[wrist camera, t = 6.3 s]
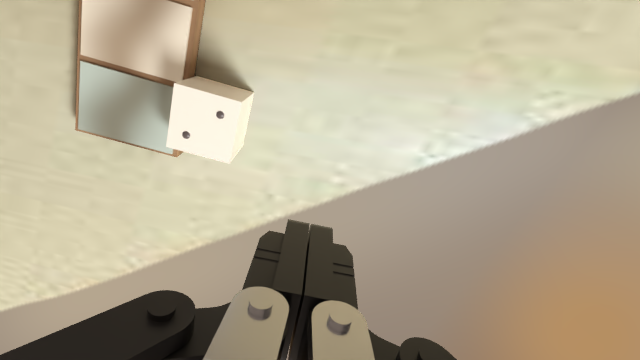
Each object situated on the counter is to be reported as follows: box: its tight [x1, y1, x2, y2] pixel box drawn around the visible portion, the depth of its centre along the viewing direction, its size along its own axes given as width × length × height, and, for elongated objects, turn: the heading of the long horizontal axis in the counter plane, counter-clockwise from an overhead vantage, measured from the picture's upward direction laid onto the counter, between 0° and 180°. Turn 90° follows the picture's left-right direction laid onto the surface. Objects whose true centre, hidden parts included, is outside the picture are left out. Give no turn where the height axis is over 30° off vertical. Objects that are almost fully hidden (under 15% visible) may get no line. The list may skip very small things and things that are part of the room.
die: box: [166, 76, 254, 164], centre depth 23 cm, size 4×4×4 cm
